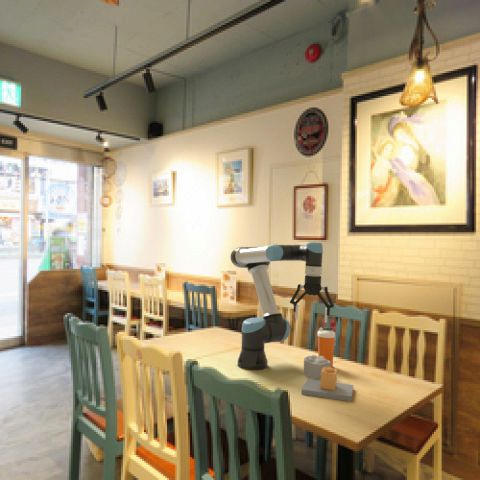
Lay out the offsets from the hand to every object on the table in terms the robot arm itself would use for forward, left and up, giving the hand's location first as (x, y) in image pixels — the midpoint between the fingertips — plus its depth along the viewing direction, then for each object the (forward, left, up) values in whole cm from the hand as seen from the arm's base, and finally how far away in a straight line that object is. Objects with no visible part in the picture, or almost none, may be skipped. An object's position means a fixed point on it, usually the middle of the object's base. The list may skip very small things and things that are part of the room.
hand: (311, 320), depth 189 cm
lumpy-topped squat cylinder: (+2, +5, -27) cm, 28 cm away
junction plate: (+10, -15, -27) cm, 32 cm away
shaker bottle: (+5, +20, -27) cm, 34 cm away
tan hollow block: (+10, -15, -24) cm, 30 cm away
